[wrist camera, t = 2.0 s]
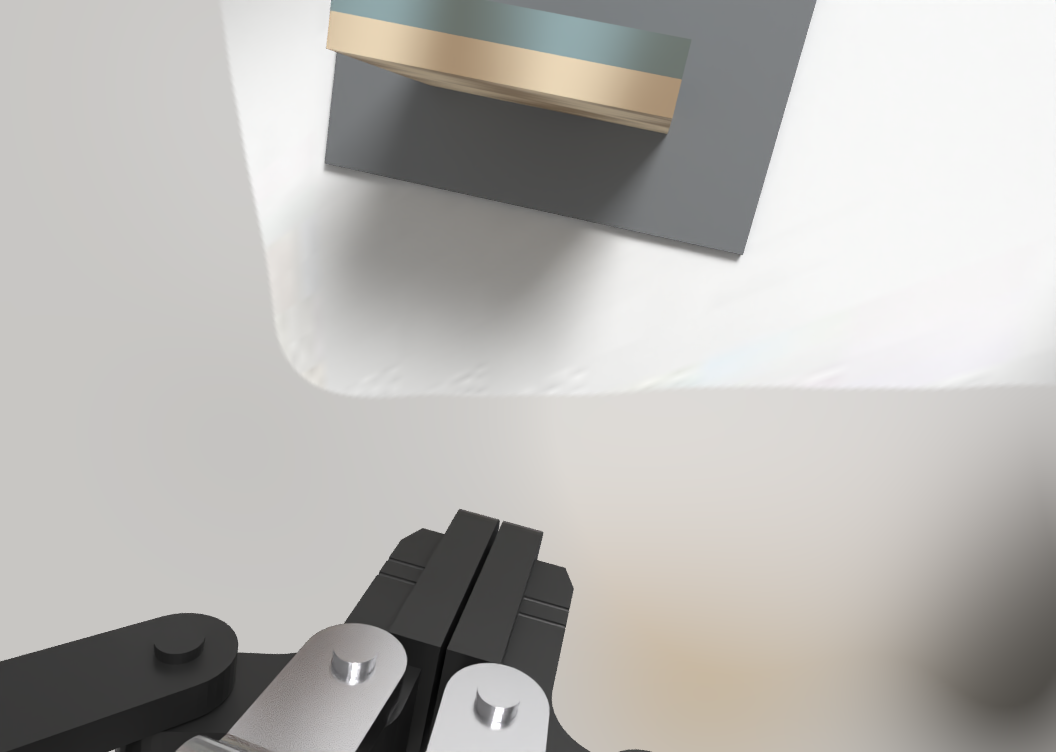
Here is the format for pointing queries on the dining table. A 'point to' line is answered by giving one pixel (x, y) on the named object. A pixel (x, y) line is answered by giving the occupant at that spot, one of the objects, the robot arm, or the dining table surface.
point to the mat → (598, 127)
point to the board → (518, 56)
